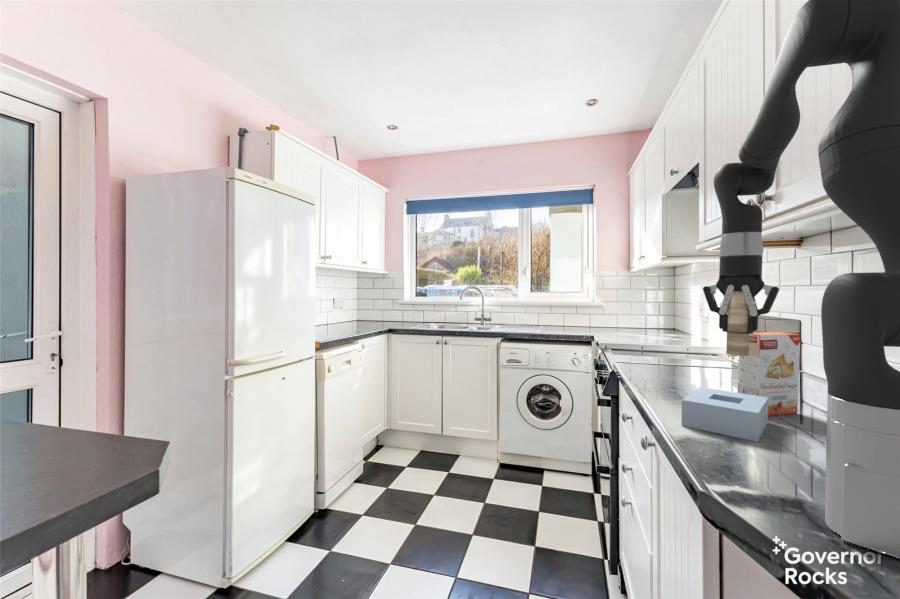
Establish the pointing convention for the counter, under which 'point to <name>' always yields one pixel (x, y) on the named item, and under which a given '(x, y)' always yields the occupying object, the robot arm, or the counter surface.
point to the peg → (738, 325)
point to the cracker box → (772, 370)
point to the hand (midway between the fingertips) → (738, 331)
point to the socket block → (726, 413)
